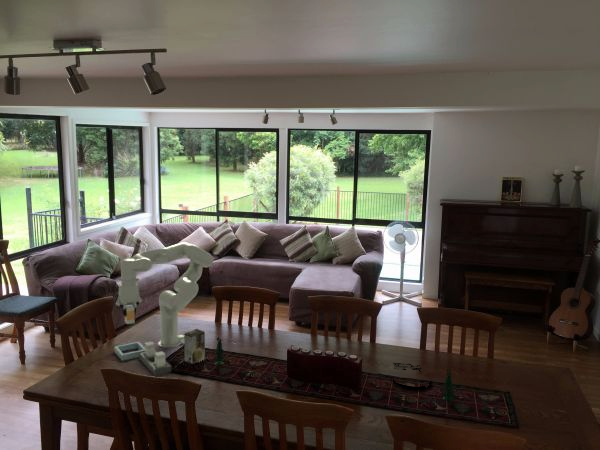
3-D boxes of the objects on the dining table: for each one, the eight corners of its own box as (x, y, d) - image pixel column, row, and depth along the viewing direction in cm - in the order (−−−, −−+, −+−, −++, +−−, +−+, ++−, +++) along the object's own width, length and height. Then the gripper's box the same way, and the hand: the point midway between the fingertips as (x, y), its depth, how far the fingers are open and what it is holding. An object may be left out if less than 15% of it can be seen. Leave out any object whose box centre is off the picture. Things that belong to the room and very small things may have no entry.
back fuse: (152, 357, 268) (152, 341, 266) (154, 360, 264) (154, 343, 263) (144, 359, 265) (144, 342, 264) (147, 361, 262) (147, 345, 261)
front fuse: (162, 368, 256) (162, 351, 254) (165, 371, 252) (165, 354, 251) (154, 369, 253) (154, 353, 252) (157, 372, 250) (157, 355, 249)
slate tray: (138, 348, 281) (138, 341, 280) (146, 356, 270) (146, 349, 270) (114, 353, 273) (114, 346, 273) (121, 362, 263) (121, 355, 262)
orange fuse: (132, 320, 272) (131, 304, 270) (134, 322, 268) (134, 306, 267) (124, 321, 269) (124, 305, 268) (127, 324, 266) (126, 307, 265)
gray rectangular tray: (154, 356, 271) (154, 349, 270) (171, 373, 252) (171, 366, 251) (139, 360, 266) (139, 353, 265) (154, 377, 247) (154, 369, 247)
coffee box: (196, 356, 273) (196, 328, 270) (205, 360, 269) (205, 331, 266) (184, 362, 265) (183, 333, 263) (192, 365, 262) (192, 336, 259)
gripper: (142, 278, 273) (142, 310, 276) (110, 282, 263) (111, 315, 266) (146, 281, 267) (147, 314, 270) (114, 285, 257) (115, 319, 260)
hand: (129, 314), depth 268 cm, fingers closed on orange fuse, 4 cm apart
